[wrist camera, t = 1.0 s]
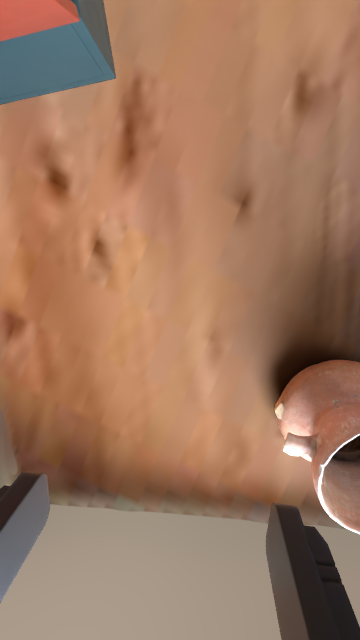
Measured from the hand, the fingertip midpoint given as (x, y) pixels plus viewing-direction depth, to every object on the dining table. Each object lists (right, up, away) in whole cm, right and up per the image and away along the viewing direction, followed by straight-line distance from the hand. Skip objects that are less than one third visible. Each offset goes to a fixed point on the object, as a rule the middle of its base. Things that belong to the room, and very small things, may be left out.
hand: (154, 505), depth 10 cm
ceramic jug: (+21, -5, +29) cm, 37 cm away
